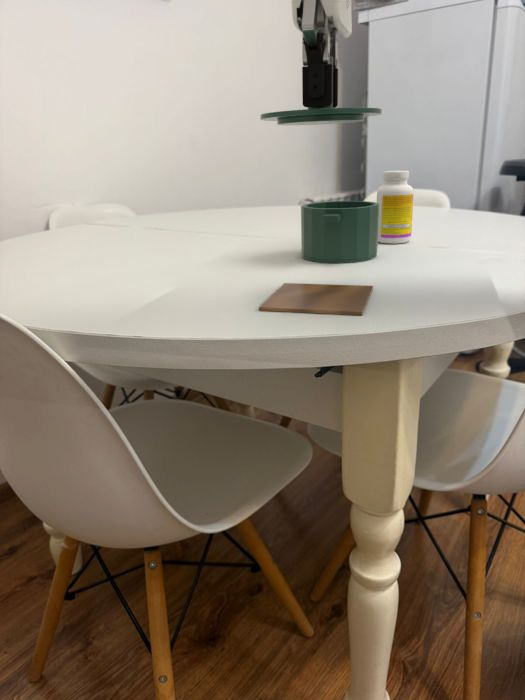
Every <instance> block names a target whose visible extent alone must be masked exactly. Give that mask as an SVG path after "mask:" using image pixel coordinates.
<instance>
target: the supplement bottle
mask: <svg viewBox="0 0 525 700" xmlns="http://www.w3.org/2000/svg"><path fill="white" fill-rule="evenodd" d="M409 178H410V171H409V170H386V171H383V172H382V180H383V184H382V185H381V186H379V187H378V189H377V190H376V203H379V217H378V243H381V244H386V245H387V244H388V245H390V244H391V245H392V244H393V245H394V244H396V245H397V244H405V243H409V242H411V240H412V227H413V209H414V208H413V207H414V206H413V205H414V188H413V187H412V186H411V185H410V184H408V181H409Z"/></svg>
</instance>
